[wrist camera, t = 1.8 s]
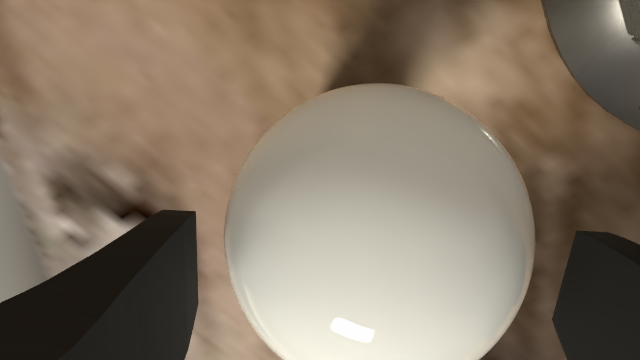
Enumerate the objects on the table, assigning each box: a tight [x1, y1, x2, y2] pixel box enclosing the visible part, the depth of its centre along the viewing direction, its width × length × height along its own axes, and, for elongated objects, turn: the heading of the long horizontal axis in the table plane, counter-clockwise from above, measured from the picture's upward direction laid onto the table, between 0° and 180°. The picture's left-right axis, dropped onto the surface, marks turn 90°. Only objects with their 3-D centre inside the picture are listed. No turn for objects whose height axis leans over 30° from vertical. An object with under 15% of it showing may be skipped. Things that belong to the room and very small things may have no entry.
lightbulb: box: [224, 83, 535, 360], centre depth 14 cm, size 6×6×11 cm
